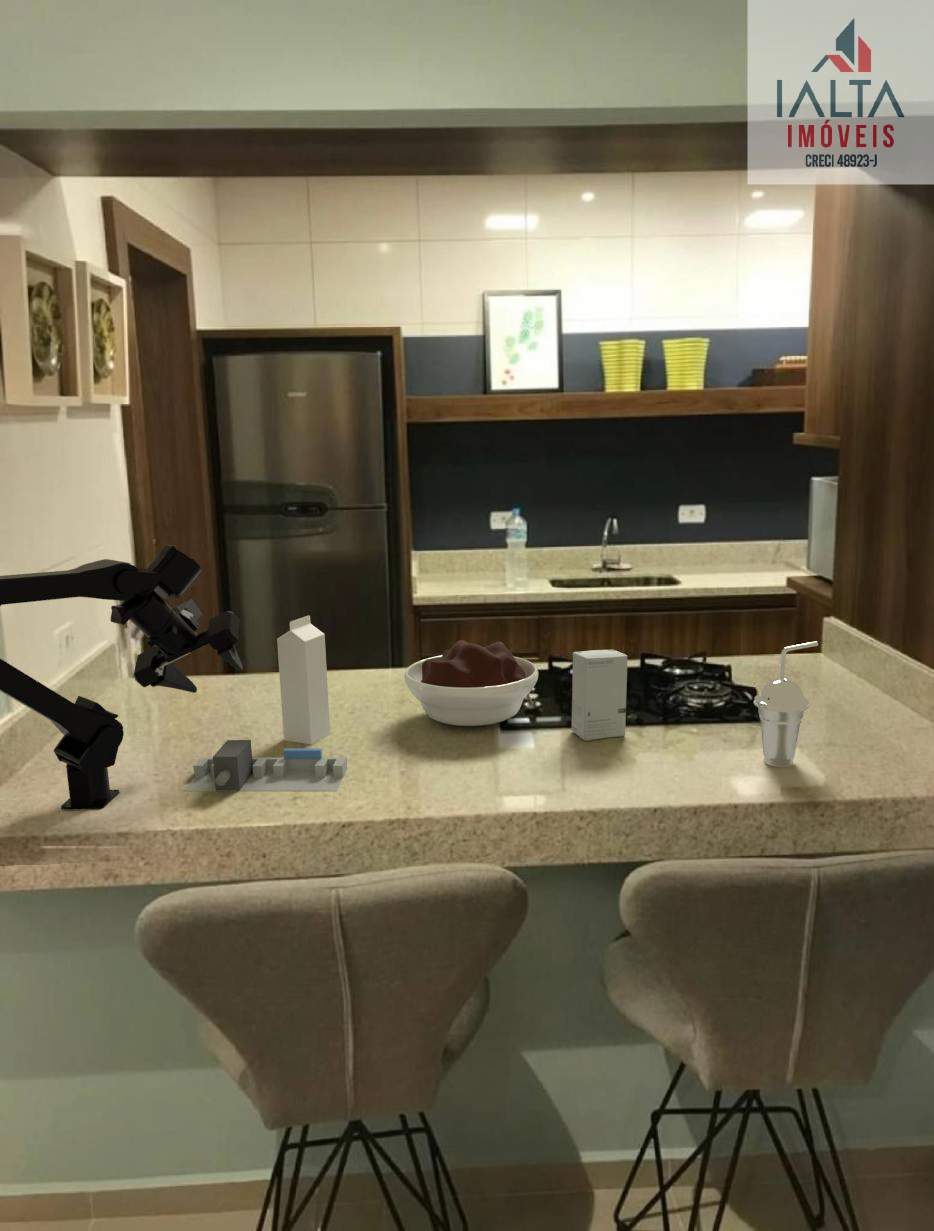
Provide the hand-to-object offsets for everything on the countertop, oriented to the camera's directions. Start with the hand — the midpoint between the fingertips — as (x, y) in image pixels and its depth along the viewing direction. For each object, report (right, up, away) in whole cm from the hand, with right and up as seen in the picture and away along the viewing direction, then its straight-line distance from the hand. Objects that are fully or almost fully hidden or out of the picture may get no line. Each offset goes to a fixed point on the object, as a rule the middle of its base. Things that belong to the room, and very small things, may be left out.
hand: (218, 679), depth 158 cm
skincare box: (+65, -11, +10) cm, 67 cm away
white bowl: (+42, -9, +21) cm, 48 cm away
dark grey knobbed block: (+5, -16, -10) cm, 19 cm away
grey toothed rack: (+10, -16, -8) cm, 20 cm away
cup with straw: (+92, -13, -5) cm, 93 cm away
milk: (+13, -12, +12) cm, 21 cm away
